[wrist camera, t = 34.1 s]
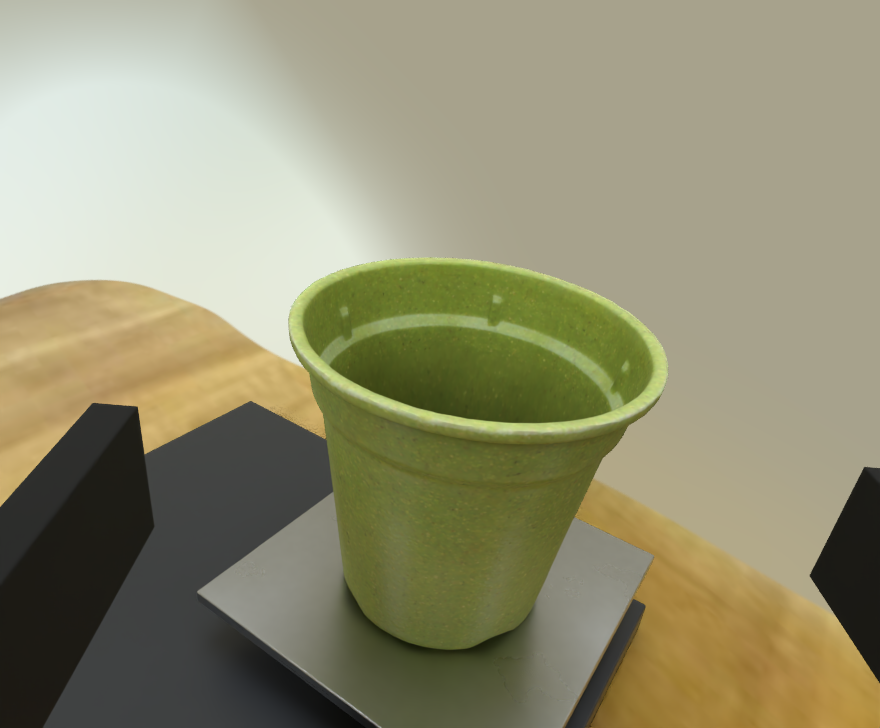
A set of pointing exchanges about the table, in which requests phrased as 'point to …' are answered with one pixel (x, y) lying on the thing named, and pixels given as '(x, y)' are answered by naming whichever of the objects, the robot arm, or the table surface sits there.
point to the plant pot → (464, 430)
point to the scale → (199, 562)
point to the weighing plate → (421, 668)
